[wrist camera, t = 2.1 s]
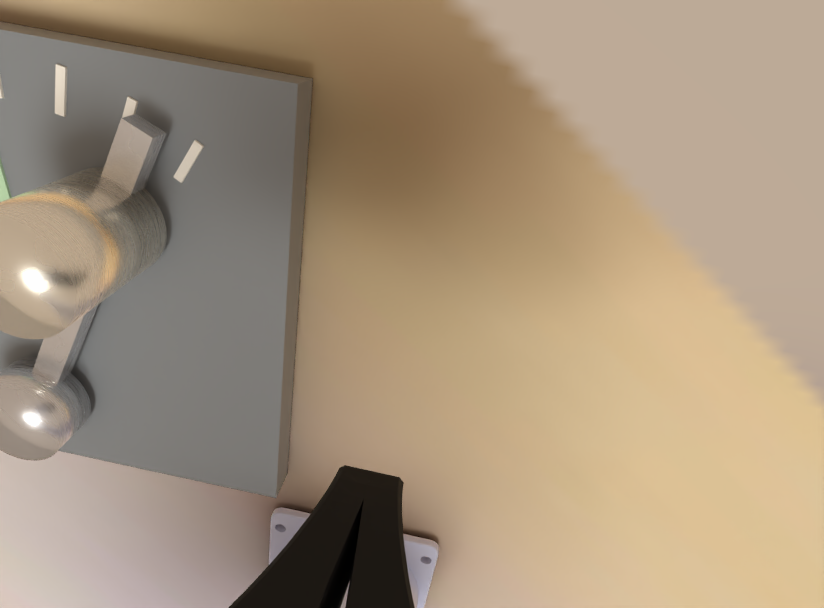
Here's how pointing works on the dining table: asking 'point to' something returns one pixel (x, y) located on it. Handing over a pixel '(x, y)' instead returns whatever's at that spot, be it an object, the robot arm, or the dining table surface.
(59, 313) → the lever
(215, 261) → the dial board
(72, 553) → the dining table surface
